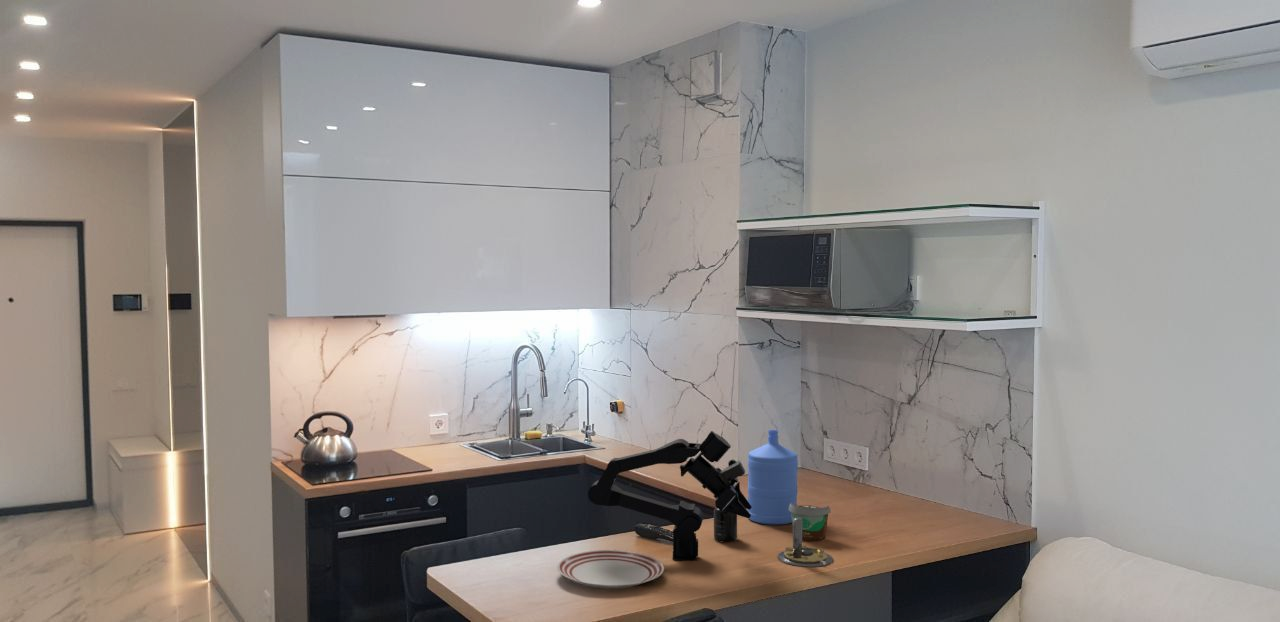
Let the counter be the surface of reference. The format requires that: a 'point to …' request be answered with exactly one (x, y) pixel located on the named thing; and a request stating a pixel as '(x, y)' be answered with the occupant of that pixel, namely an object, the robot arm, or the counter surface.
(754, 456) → the water jug
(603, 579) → the dinner plate
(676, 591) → the counter surface
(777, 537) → the counter surface
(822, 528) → the food container
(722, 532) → the supplement bottle
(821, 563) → the flange
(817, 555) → the rod on round base
